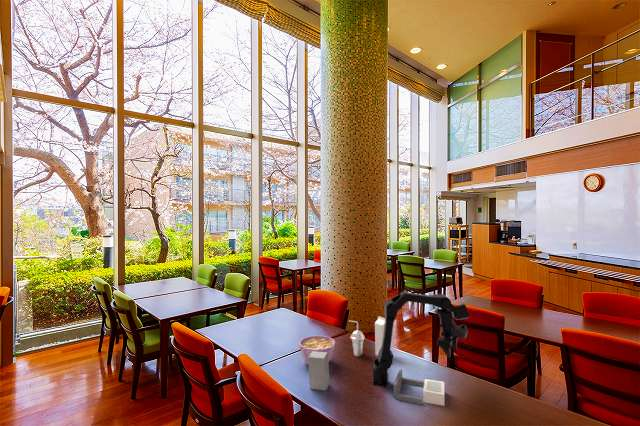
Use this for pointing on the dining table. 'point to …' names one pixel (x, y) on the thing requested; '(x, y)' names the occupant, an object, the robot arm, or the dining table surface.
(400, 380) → the display stand
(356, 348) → the cup with straw
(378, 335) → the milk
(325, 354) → the skincare box
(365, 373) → the dining table surface
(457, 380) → the dining table surface
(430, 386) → the carton
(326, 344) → the bowl of food
